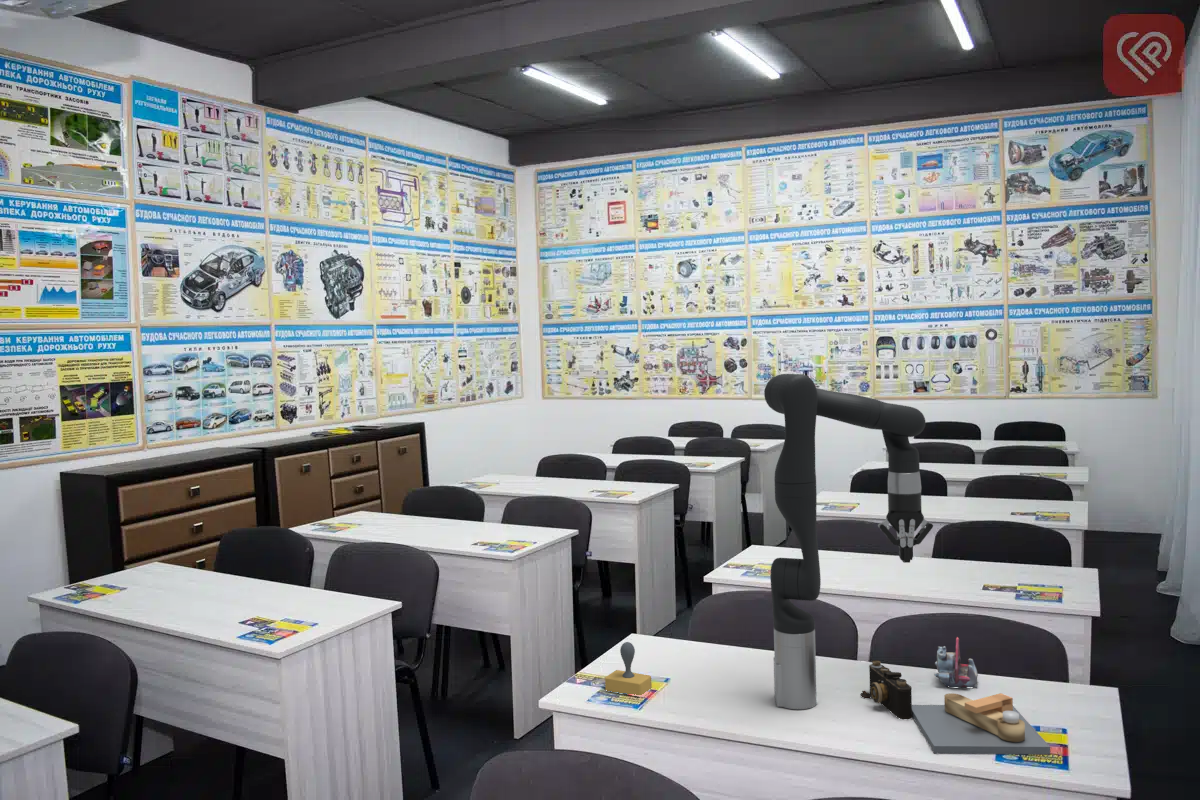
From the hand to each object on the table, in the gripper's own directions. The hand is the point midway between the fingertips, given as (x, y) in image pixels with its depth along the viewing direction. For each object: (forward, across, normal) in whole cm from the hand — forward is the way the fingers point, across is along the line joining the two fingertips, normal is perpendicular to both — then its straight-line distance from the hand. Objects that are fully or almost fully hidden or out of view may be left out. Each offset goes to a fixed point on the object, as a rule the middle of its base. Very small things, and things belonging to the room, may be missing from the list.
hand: (905, 561), depth 217 cm
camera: (+29, +9, +15) cm, 34 cm away
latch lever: (+27, -8, +29) cm, 41 cm away
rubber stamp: (+29, +67, +7) cm, 74 cm away
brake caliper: (+29, -11, +1) cm, 31 cm away
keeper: (+27, -9, +30) cm, 42 cm away
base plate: (+29, -7, +29) cm, 42 cm away
